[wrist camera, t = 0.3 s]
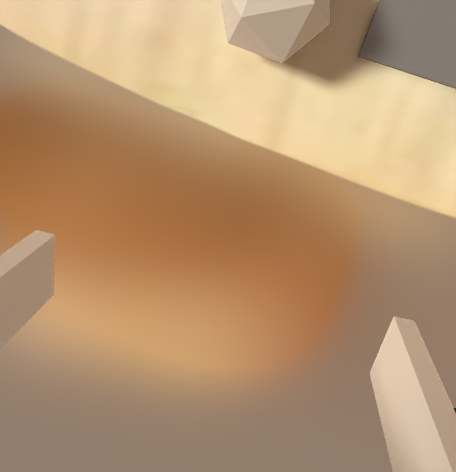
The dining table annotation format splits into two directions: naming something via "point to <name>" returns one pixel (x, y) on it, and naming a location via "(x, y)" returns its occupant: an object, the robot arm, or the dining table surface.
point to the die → (274, 25)
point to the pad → (415, 38)
